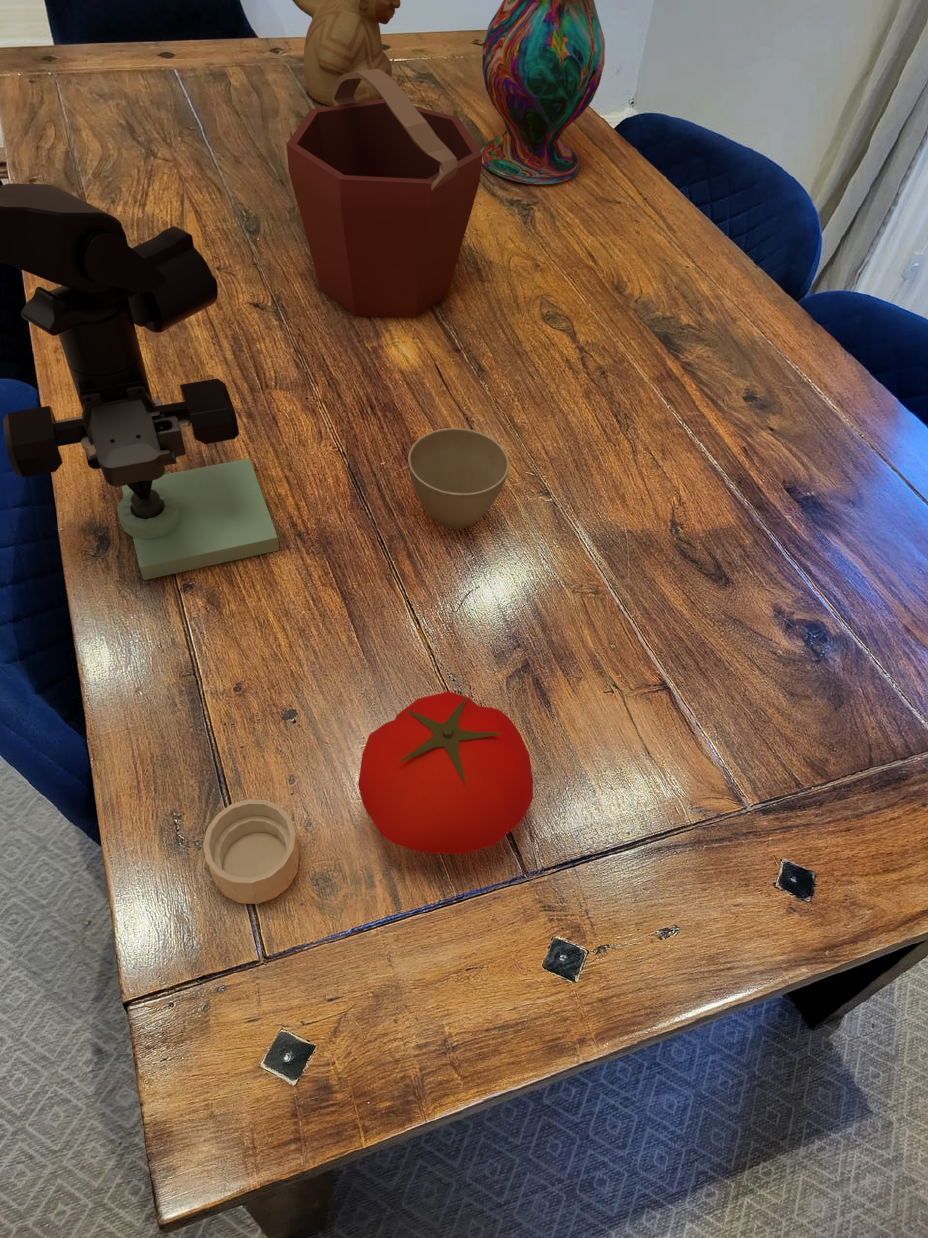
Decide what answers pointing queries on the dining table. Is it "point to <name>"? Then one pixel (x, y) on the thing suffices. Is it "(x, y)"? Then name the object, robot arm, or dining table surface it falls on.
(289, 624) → the dining table surface
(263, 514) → the scale
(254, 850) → the bowl
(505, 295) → the dining table surface
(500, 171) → the vase
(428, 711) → the tomato
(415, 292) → the bucket
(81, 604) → the dining table surface
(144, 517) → the button
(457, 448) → the brown cup
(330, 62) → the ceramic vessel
